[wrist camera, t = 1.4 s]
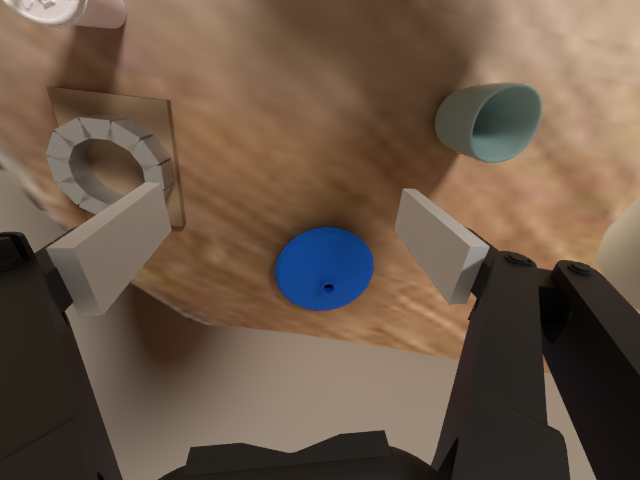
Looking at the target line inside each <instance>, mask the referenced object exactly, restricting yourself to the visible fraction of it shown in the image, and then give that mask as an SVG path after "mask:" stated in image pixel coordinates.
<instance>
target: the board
mask: <svg viewBox="0 0 640 480" xmlns="http://www.w3.org/2000/svg"><path fill="white" fill-rule="evenodd" d="M47 90H48V93H49V96H50V100H51V103H52V106H53V109H54V113H55V116H56V119H57V122H58V125H59V127H60V126H62V125H64V124H66V123H68V122H69V121H71V120H73V119H75V118H78V117H85V116H93V115H108V116H117V117H126V118H127V119H131V120H132V121H134V122H136V123H137V124H139V125H141V126H142V127H144V128H146V129H147V130H149V131H150V132H152V133H154V134H153V136H155V135H156V136H157V138H158V139H159V141H160V142H161V144H162V145H163V146H164V148H165V149H166V151H167V152H168V153H169V155H170V156H171V157H170V158H169V159H172V163H173V171H174V178H175V181H174V185H173V187H172V189H171V191H170V193H169V195H168V197H167V199H166V200H165V203H166V208H167V212H168V216H169V221H170V225H171V226H178V227H183V226H184V225H185V224H186V221H185V213H184V205H183V198H182V190H181V182H180V174H179V166H178V158H177V151H176V143H175V135H174V127H173V119H172V111H171V103H170V100H162V99H153V98H145V97H137V96H128V95H120V94H111V93H103V92H94V91H86V90H77V89H69V88H60V87H47ZM88 156H89V160H90V163H91V167H92V171H93V173H94V174H95V175H96V176H97V177H98V178H99V179H100V181H101V182H102V183H103V184H104V185H105V186H106V187H108V188H110V189H112V190H114V191H116V192H118V193H120V194H122V195H127V194H129V193H130V192H132V191H133V190H135V189H136V188H138V187H139V186H141V185H142V184H144V183H145V179H144V173H143V168H142V167H141V165H140V164H139V163H138V161H137V160H136V159H135V158H134V156H133V155H132V154H131V152H130V151H128V150H127V149H125V148H123V147H121V146H119V145H118V144H116V143H114V142H112V141H111V140H104V139H96V140H95V141H93V144H92V146H91V149H90V152H89V154H88ZM85 212H86V216H87V219H88V220H89V219H91V218H92V217H94V216H95V215H96V214H94V213H91V212H89V211H87V210H85Z"/></svg>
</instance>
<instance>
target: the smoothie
mask: <svg viewBox="0 0 640 480" xmlns="http://www.w3.org/2000/svg"><path fill="white" fill-rule="evenodd" d="M2 1H3V2H4V3H5V4H6V5H7V6H9V7H10V8H11V9H12V10H14V11H15V12H16V13H18V14H19V15H21V16H23V17H25V18H26V19H29V20H31V21H33V22H36V23H39V24H41V25H44V26H47V27H52V28H65V27H70V26H72V25H77V26H87V27H98V28H108V29H117V28H119V27H121V26H122V25H123V24H124V22H125V20H126V7H125V4H124V1H123V0H2Z"/></svg>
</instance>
